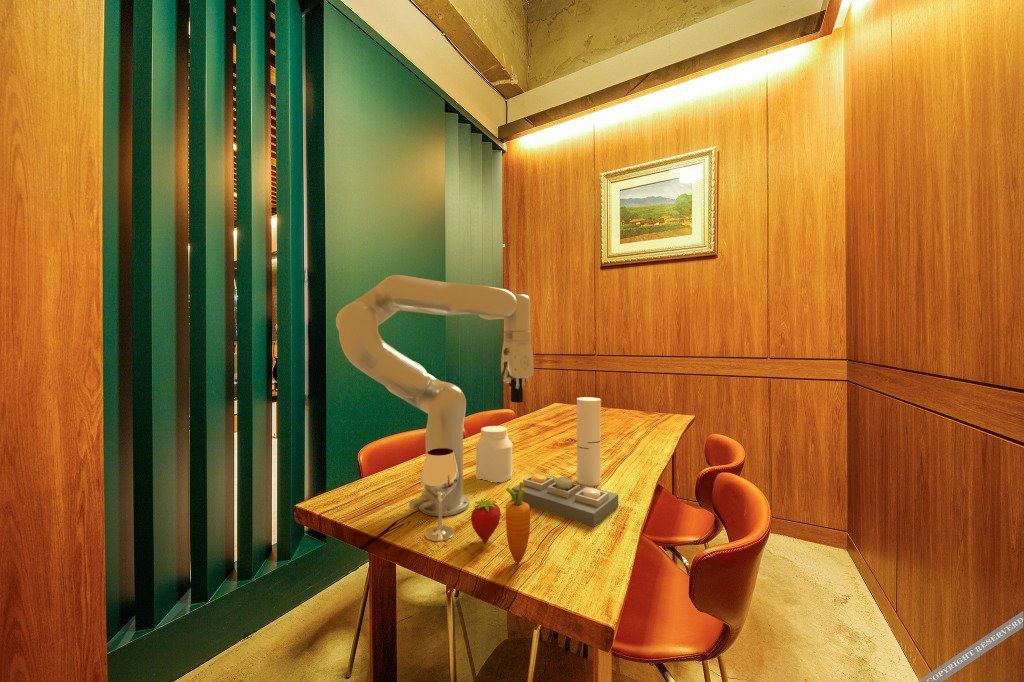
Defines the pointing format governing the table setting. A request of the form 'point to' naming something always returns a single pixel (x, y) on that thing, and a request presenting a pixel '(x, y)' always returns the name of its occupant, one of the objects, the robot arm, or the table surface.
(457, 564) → the table surface
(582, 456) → the cylindrical container
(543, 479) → the amber button
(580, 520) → the button panel
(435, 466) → the wineglass
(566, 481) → the sage button
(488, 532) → the strawberry
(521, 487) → the carrot
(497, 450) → the jar
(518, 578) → the table surface
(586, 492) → the cream button
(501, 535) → the table surface
